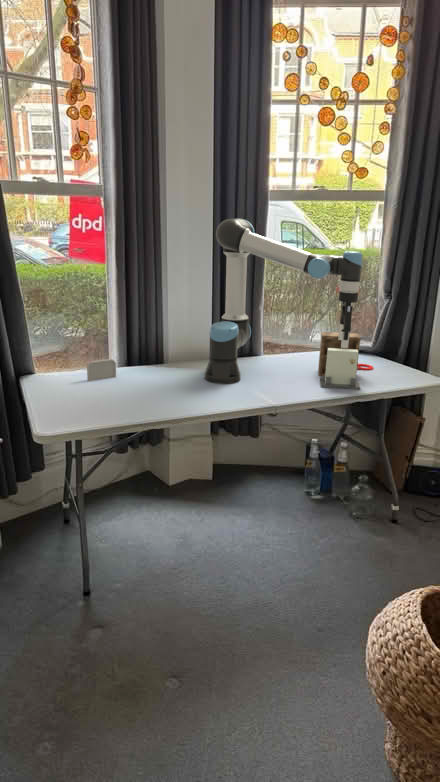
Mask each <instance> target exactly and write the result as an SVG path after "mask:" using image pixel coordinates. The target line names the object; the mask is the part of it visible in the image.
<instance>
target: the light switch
mask: <svg viewBox="0 0 440 782" xmlns="http://www.w3.org/2000/svg"><path fill="white" fill-rule="evenodd" d="M86 377H87V379H86V380H87V381H88V382H92V381H97V380H104V379H111V378H117V362H116V361H115V360H114V359H112V358H107V359H99V360H92V361H89V362H88V363H87V364H86Z"/></svg>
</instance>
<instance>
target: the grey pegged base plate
mask: <svg viewBox="0 0 440 782" xmlns="http://www.w3.org/2000/svg"><path fill="white" fill-rule="evenodd" d="M325 373H326V372H325ZM319 386H320V388H326V389H327V388H328V389H343V390H357V391H361V389H362V388H361V386H360V382H359V380H357V378H351V381H350V385H347V384H331V377H326V383H325V377H319Z"/></svg>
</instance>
